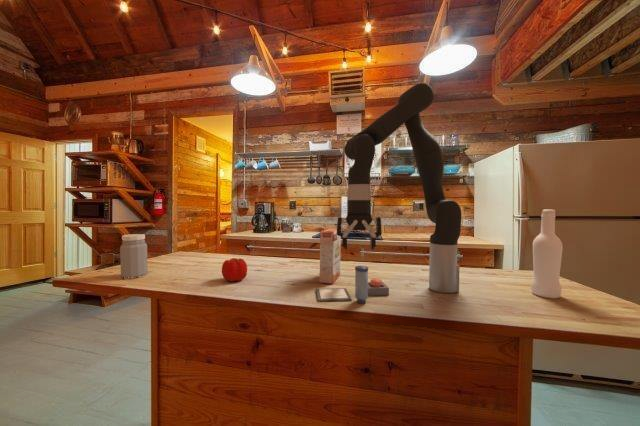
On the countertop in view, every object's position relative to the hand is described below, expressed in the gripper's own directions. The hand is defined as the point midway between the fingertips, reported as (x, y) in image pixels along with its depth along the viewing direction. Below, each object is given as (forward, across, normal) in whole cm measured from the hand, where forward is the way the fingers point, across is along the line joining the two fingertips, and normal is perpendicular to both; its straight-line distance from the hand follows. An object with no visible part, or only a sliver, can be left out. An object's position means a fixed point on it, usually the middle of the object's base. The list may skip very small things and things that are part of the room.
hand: (358, 248), depth 84 cm
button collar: (+17, -8, -9) cm, 21 cm away
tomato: (+17, +48, -22) cm, 56 cm away
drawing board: (+17, +8, -5) cm, 20 cm away
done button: (+16, -8, -9) cm, 19 cm away
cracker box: (+17, +8, -25) cm, 31 cm away
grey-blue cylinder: (+17, -1, +1) cm, 17 cm away
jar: (+17, +94, -27) cm, 99 cm away
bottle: (+18, -66, -7) cm, 69 cm away
